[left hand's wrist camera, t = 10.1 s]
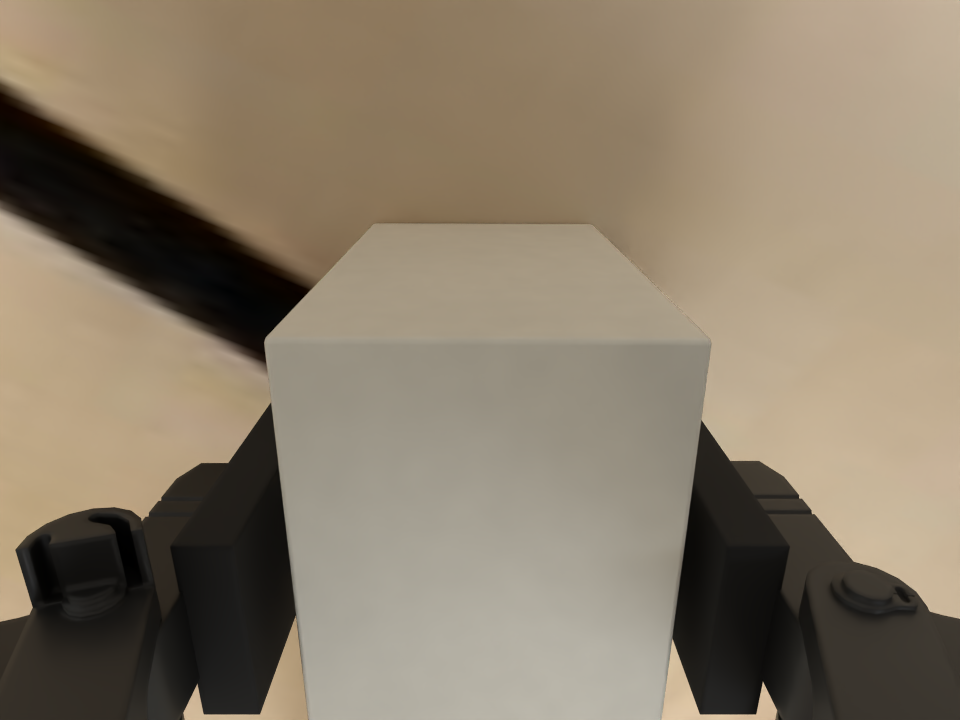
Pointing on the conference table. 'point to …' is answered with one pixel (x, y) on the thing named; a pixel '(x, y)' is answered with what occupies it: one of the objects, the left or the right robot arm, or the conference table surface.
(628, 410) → the bar
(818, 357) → the conference table surface
